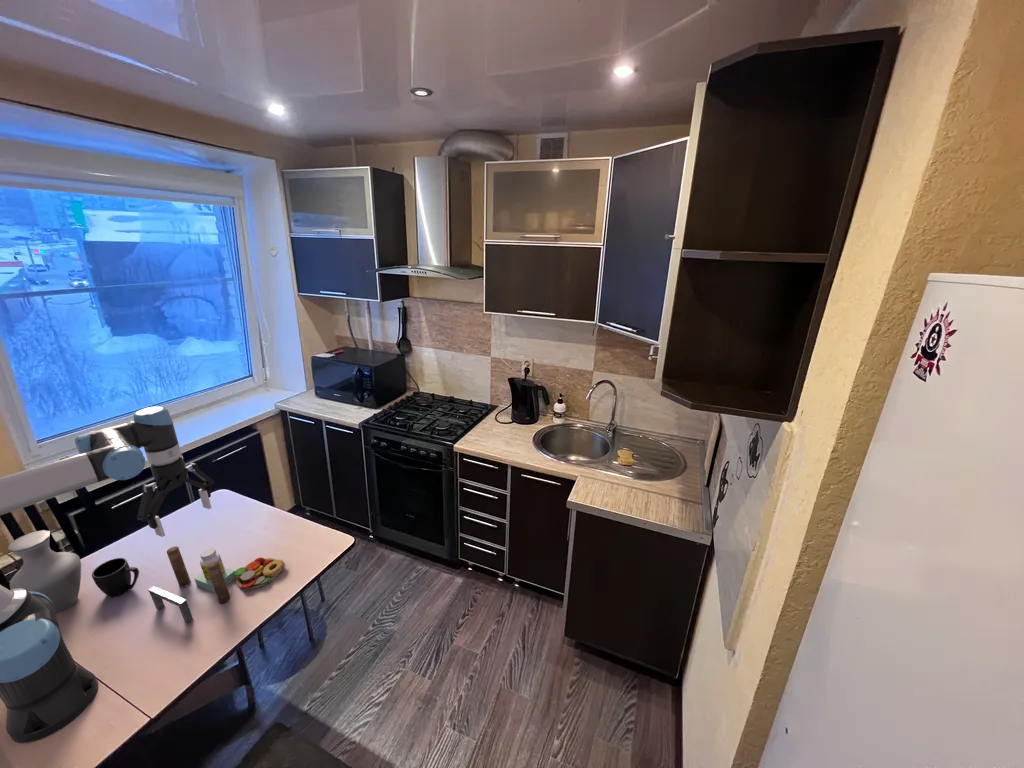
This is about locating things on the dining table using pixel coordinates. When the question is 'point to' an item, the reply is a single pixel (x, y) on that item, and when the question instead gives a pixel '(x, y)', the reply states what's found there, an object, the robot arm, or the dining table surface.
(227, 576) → the stand
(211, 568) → the post near
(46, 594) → the vase
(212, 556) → the supplement bottle
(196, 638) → the dining table surface
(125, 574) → the mug
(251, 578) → the toy food set
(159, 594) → the rail hurdle
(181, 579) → the post far
